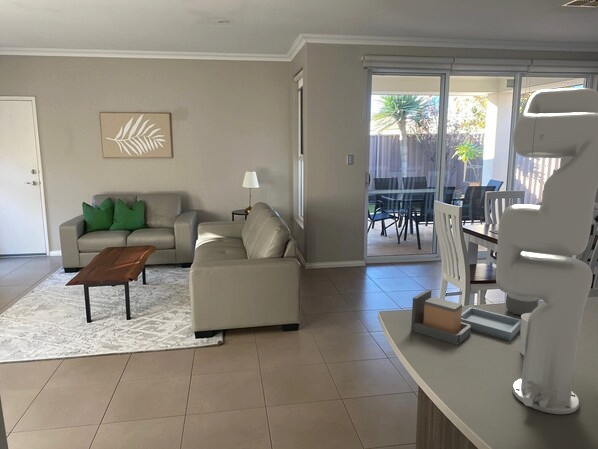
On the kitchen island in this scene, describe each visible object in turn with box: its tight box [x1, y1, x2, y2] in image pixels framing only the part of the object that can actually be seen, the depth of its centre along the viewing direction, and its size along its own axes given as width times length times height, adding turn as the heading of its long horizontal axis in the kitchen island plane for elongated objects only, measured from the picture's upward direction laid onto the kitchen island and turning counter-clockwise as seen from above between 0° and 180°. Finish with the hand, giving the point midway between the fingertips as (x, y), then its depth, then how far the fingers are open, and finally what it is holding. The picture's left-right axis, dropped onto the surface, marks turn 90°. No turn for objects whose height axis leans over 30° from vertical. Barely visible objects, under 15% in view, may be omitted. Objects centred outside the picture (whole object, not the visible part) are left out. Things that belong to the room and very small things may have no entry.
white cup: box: [519, 313, 531, 357], centre depth 114 cm, size 8×8×10 cm
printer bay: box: [410, 289, 472, 345], centre depth 128 cm, size 10×14×10 cm
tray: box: [461, 306, 521, 341], centre depth 132 cm, size 12×16×2 cm
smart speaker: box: [505, 293, 539, 317], centre depth 142 cm, size 10×9×14 cm
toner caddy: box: [423, 296, 463, 334], centre depth 128 cm, size 5×9×9 cm, turn 48°
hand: (567, 236), depth 124 cm, fingers open, 9 cm apart
